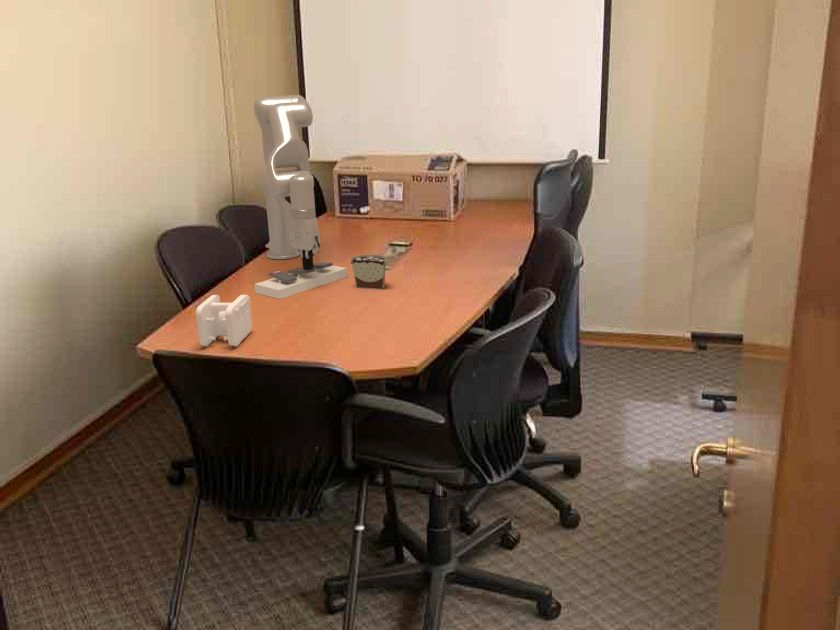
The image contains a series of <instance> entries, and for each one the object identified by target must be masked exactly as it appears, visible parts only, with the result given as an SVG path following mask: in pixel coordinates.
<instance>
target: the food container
mask: <svg viewBox="0 0 840 630" xmlns="http://www.w3.org/2000/svg"><path fill="white" fill-rule="evenodd" d="M350 265H352V269H353V270H352V271H353V277H354V280H355V281H354V283H355V288H356V289H365V290H381V291H383V290H385V283H386V282H385V277H386V274H385V273H386V267H387V266H388V261H387V258H386V256H384V255H381V254H371V253H370V254H361V255H356V256H353V257H352V258H351V259H350Z"/></svg>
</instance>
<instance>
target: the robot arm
mask: <svg viewBox="0 0 840 630" xmlns="http://www.w3.org/2000/svg"><path fill="white" fill-rule="evenodd" d="M253 111H254V115H255V116H254V117H255V118H256V120H257V123H258V124H259V127H260V130H261V138H262V153H263V154H262V155H263V159H264V164H265V166H266V173H265V174H264V175H262V177H261V188H262V192H263V196H264V199H265V200H264V201H265V207H266V215H267V225H268V237H269V241H268V243H266V244H265V248H266V249H269V250H268V252H267V253H266V257H267V258H269V259H272V260H289V259H295V258H297V257H299V256H300V257H301V263H302V268H303V270H310V269H313V268H314V267H313V263H314V258H313V257H315V255H316V254H319V253H320V249H319V248H321V235H320V234H321V233H320V228H319V224H318V219H317V216H316V204H315V191H314V187H315V179H314V176H313V175H312V174H311V173H310V161H309V159H310V158H309V150H308V149H309V148H308V147H307V144H306V143H305V141H303V140H302V139H300V135H299V131H298V128H306V127H310V126H311V125H312V124H313V116H314V115H313V111H312V107H311V106H310V103H309V102H308V101H307V100H306V99H305V97H304V96H302V95H300V94H289V95H287V94H286V95H272V96H262V97H258V98H257V99H255V100H254V102H253ZM293 167H294V168H295V169H285V168H293ZM282 168H283V169H282ZM276 169H281V170H276ZM286 197H287V198H288V197H289V198H290V202H289V201H287V199H286Z"/></svg>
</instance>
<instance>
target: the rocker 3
mask: <svg viewBox="0 0 840 630" xmlns="http://www.w3.org/2000/svg"><path fill="white" fill-rule="evenodd" d="M333 265H334V264H333V262H320V261H319V262H314V261H313V267H314V268H326V267H330V266H333Z"/></svg>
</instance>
